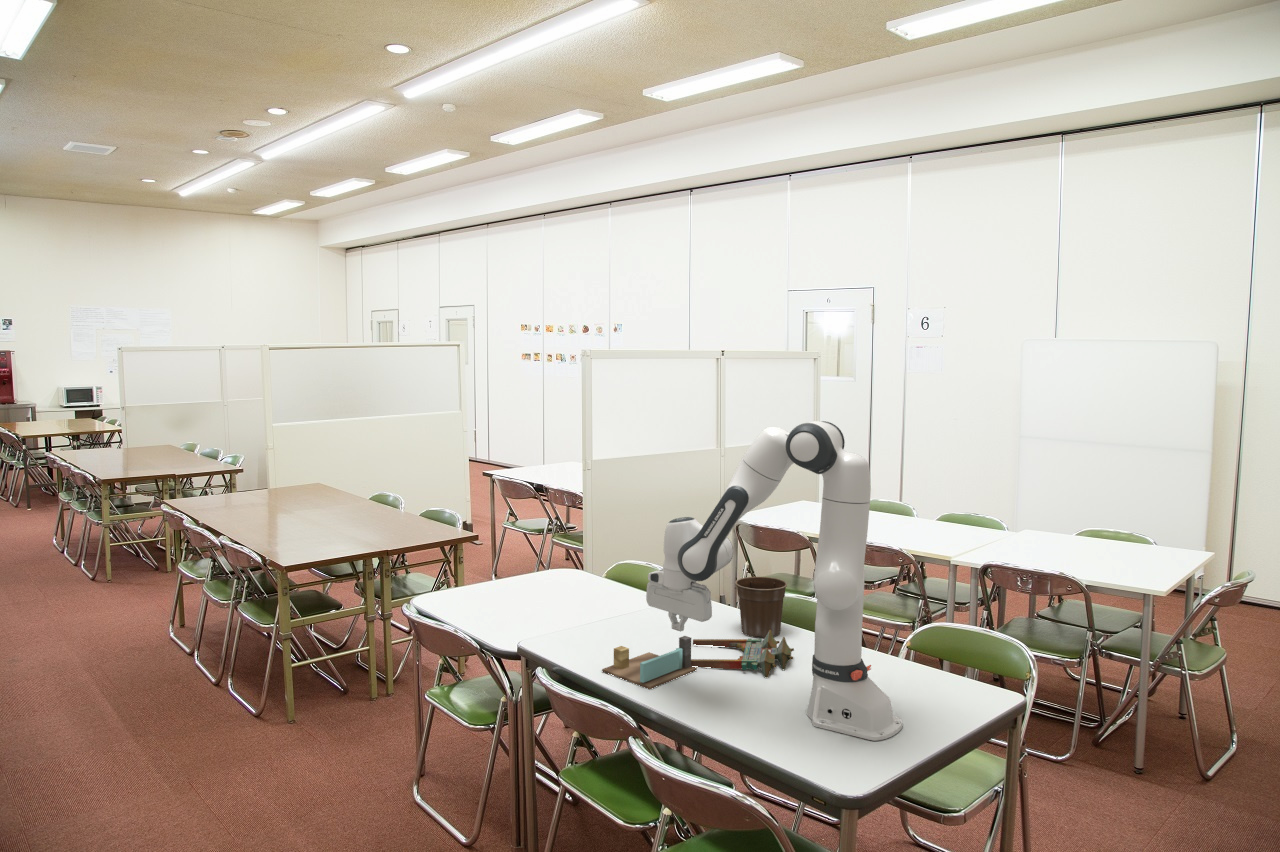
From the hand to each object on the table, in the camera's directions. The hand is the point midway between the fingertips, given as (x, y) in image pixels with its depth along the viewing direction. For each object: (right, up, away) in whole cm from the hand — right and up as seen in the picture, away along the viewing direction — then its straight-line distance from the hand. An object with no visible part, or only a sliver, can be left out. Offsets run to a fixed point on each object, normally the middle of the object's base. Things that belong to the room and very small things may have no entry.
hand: (677, 629), depth 220 cm
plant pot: (+28, -12, +45) cm, 54 cm away
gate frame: (-7, -14, +10) cm, 19 cm away
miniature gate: (+19, -14, +20) cm, 31 cm away
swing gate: (-4, -13, +5) cm, 15 cm away
